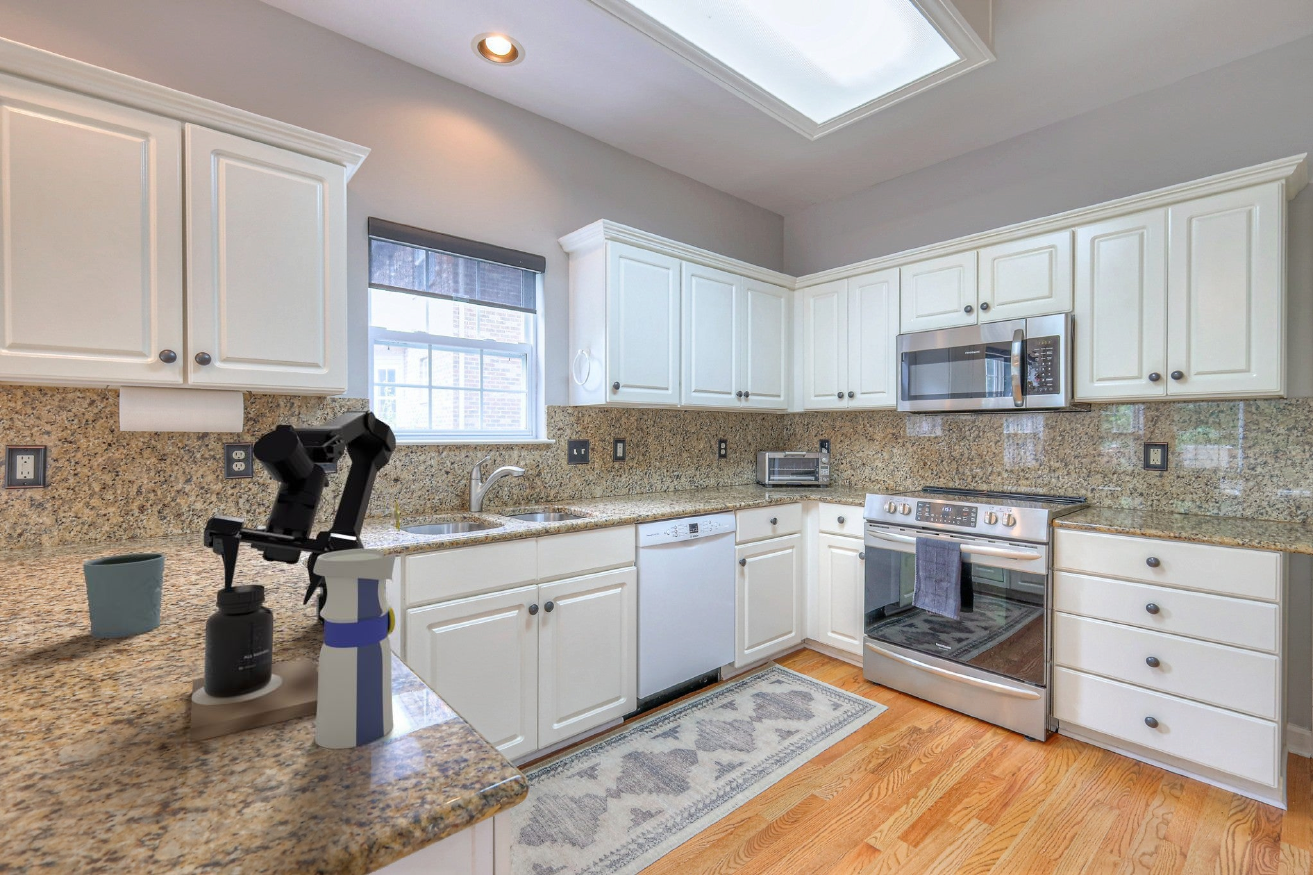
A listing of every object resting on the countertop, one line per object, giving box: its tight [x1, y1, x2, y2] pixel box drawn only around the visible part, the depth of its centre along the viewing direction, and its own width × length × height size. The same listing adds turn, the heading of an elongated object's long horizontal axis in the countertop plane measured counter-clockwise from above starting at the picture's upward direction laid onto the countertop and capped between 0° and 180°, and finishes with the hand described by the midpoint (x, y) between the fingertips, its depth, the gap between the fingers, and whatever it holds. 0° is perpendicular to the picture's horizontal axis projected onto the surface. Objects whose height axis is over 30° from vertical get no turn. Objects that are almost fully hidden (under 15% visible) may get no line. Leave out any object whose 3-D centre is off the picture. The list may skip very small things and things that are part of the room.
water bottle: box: [313, 501, 401, 750], centre depth 66 cm, size 8×9×25 cm
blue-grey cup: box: [82, 552, 166, 640], centre depth 99 cm, size 10×10×12 cm
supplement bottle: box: [203, 584, 274, 697], centre depth 73 cm, size 7×7×12 cm
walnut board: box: [189, 657, 318, 744], centre depth 73 cm, size 13×16×2 cm
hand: (266, 599), depth 81 cm, fingers open, 9 cm apart
